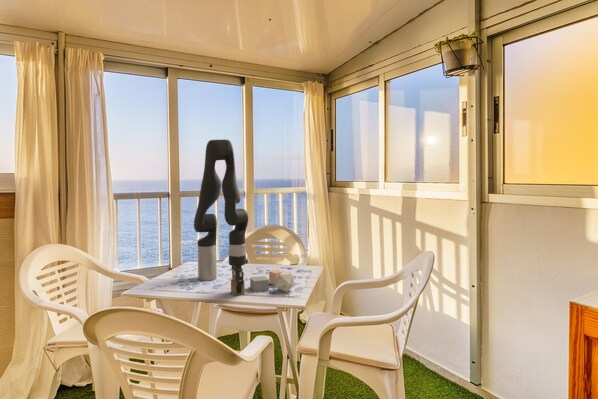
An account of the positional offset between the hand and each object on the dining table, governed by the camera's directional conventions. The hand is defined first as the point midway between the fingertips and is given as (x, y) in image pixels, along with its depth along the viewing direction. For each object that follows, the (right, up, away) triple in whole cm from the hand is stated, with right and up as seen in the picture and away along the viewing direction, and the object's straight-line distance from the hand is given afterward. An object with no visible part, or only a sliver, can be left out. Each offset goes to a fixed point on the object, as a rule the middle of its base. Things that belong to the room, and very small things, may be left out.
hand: (237, 291), depth 165 cm
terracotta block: (+16, 0, +15) cm, 22 cm away
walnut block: (0, -1, 0) cm, 1 cm away
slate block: (+9, -1, +7) cm, 11 cm away
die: (+21, -1, +4) cm, 21 cm away
